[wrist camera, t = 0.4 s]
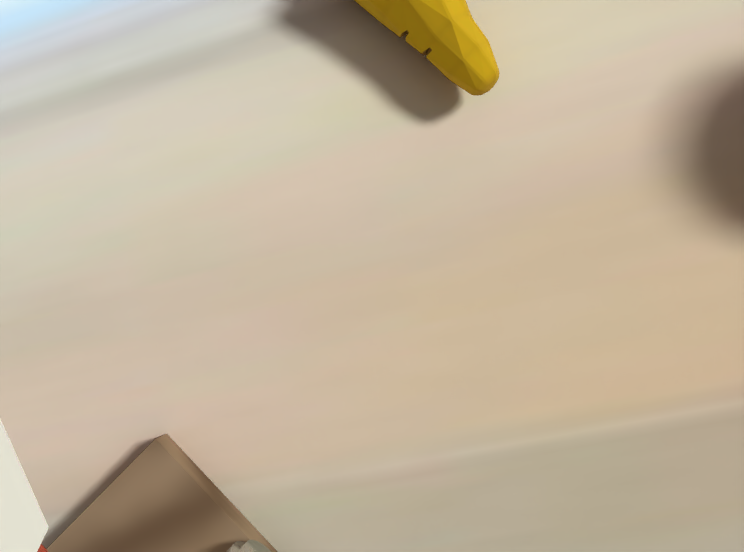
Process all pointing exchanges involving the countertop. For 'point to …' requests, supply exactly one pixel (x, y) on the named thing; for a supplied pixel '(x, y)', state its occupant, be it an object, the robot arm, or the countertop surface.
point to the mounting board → (159, 510)
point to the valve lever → (42, 549)
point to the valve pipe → (248, 547)
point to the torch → (442, 38)
